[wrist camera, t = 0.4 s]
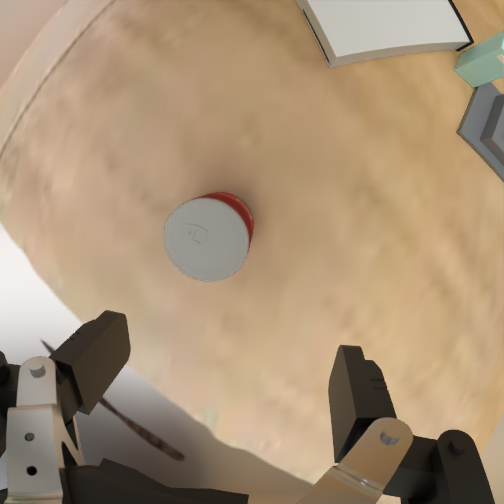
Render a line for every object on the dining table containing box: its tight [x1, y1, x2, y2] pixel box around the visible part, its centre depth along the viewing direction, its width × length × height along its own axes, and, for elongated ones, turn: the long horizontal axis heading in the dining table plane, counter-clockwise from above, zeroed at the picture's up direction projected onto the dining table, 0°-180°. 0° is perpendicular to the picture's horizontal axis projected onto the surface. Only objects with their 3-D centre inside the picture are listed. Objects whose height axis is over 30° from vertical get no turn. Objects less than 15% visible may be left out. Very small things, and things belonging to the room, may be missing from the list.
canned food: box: [164, 193, 253, 281], centre depth 33 cm, size 8×8×11 cm
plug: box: [454, 31, 504, 88], centre depth 25 cm, size 4×4×12 cm
